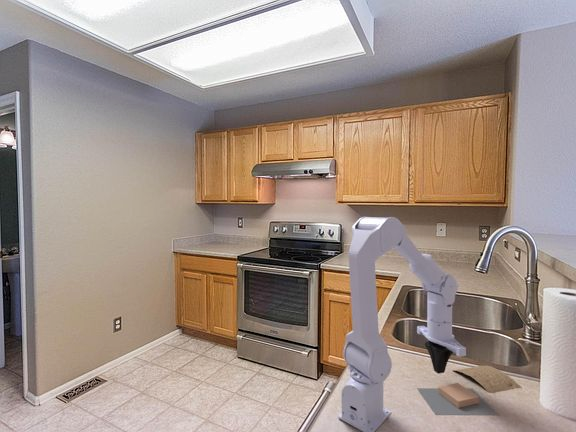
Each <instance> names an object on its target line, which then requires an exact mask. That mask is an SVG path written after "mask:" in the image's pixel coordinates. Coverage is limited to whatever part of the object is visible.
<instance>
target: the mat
mask: <svg viewBox="0 0 576 432" xmlns="http://www.w3.org/2000/svg"><path fill="white" fill-rule="evenodd" d="M466 388H467V387H466ZM416 389H417V391H418V392H419V394H420V395H421V396H422V398H423V399H424V401H425V403H426V404H427V405H428V407H429V408H430V409H431V411H432V412H433V413H434V415H435V416H500V413H499V412H498V411H496V410H495V409H494V408H493V406H491V405H490V404H489V403H488V402H487V401H486V400H485V399H484V398H483V397H482V396H481V395H480V394H479V393H478V392H477V391H476V390H475V389H474V388H472V387H471V388H467V389H468V390H470V391H471V392H473V393H474V394H476V395H477V396H479V403H478V404H473V405H469V406H465V407H460V408H458V407H456V406H455V405H454V404H452V403H451V402H450V401H448V400H447V399H446V398H444V397H443V396H442V395H440V394H439V393H438V387H436V388H435V387H434V388H433V387H431V388H430V387H429V388H426V387H425V388H422V387H420V388H419V387H418V388H416Z"/></svg>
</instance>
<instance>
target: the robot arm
mask: <svg viewBox="0 0 576 432" xmlns="http://www.w3.org/2000/svg"><path fill="white" fill-rule="evenodd" d="M351 235H352V236H351V238H352V239H351V243H350V246H349V249H348V271H349V272H348V273H349V285H350V286H349V288H350V304H351V305H350V306H351V317H352V318H351V321H352V322H351V323H352V330H351V331H350V332H348V333H347V334H346V335H345V343H344V346H343V347H344V348H343V351H342V352H343V353H342V354H343V355H342V357H343V359H344V361H345V363H346V364H347V365H348V368H347V369H348V371H349V377H348V379H347V380H348V381H347V382H346V384H345V385H344V386H343V387H342V389H341V412H340V413H339V414H337V415H338V416H337V417H338V419H340V420H342V421H343V422H345V423H347V424H349V425H351V427H352V426H353V427H354V428H356V429H358V430H359V431H361V432H376V430H377V429H378V428H379V427H380V426H381V425H382V424H383V423H384V422H385V421H386V420H387V419H388V417H389V416H390V415H391V414H392V411H391V410H389V409H388V408H385V407H384V381H386V380H387V378H389V376H390V375H391V372H392V366H393V365H392V364H393V363H392V359H391V356H390V354H389V351H388V345H387V343H386V342H385V340H384V339H383V337H382V336H381V334H380V331H379V329H380V328H379V314H378V312H379V311H378V296H377V279H376V277H377V276H376V261H377V260H378V259H379V258H380V257H382V256H383V255H385V254H386V253H389V252H390V251H391V250H392V249H394V250H395V251H396V252H398V254H399V255H401V256H402V257H403V258H404V259H405V260H406V261H407V262H409V270H410V271H411V272H412V273H413V274H414V275H415V276H416V277H417V278H418V279H419V281H420V282H421V287H422V289H423V291H425V292H426V294H427V296H426V297H427V300H426V301H427V302H426V303H427V304H426V306H427V307H426V308H427V311H426V312H427V314H426V316H427V318H426V322H427V326H425V325H418V326H416V334H418V335H421V336H424V337H425V339H427V340H428V341H425V342H424V346H425V347H426V350H427V352H428V354H429V356H430V360H431V364H432V368H433V372H435V373H437V374H438V375H439V374H443V373H445V371H446V367H447V364H448V363H449V361H450V360H449V359H450V358H451V356H452V355H453V354H455V355H456V356H457V357H459V358H461V357H466V356H467V348H466V347H465V346H463V345H462V344H460V342H458V340H457V339H455V335H454V334H453V305H454V304H455V301H456V294H457V292H458V290H459V289H458V288H459V284H458V282H457V279H456V278H455V277H454V276H452V274H448V273H446V271H444V269H443V267H442V266H440V265H439V263H437V262H436V261H435V259H434V256H433V255H431V254H428V253H422V252H421V251H420V250H419V248H418V247H417V246H416V244H415V243H414V242H413V241H412V239H411V238H410V237H409V236H408V234H407V227H406V226H405V225H404V224H403V223H402V222H401V221H400V219H398V218H397V217H394V216H389V217H375V216H373V217H371V216H362V217H360V218H359V219H358V220H357V221H355V223H354V224H353V225H352V226H351Z"/></svg>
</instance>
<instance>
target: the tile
mask: <svg viewBox="0 0 576 432" xmlns="http://www.w3.org/2000/svg"><path fill="white" fill-rule="evenodd" d="M437 388H438V393H439V394H440V395H442V396H443V397H444V398H446V399H447V400H448V401H450V402H451V403H452V404H454V405H455V406H456V407H458V408H460V407H465V406H469V405H473V404H478V403H479V396H477V395H476V394H474V393H473V392H471V391H470V390H468V389H467V387H465V386H464V385H462V384H461V383H459V382H455V383H451V384H446V385H441V386H438V387H437Z"/></svg>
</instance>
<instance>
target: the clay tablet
mask: <svg viewBox="0 0 576 432" xmlns="http://www.w3.org/2000/svg"><path fill="white" fill-rule="evenodd" d="M453 371H455V372H456V371H457V372H459V373H463V375H466V376H468V377H471V378H472V379H474V381H476V382H477V383H479V384H480V385H481V386H482V387H483V388H484V389H485V390H486V391H487V392H488V393H489V394H495V393H499V392H500V393H501V392H506V391H511V390H514V389H522V386H521V385H520V384H518V383H517V381H516V380H515V379H514V378H512V377H510V375H508V374H506V373H504V372H502V371H501V369H497V368H496V367H493V366H490V365H477V366H473V367H472V366H471V367H466V368H461V369H460V368H459V369H453V370H452V372H453Z"/></svg>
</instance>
